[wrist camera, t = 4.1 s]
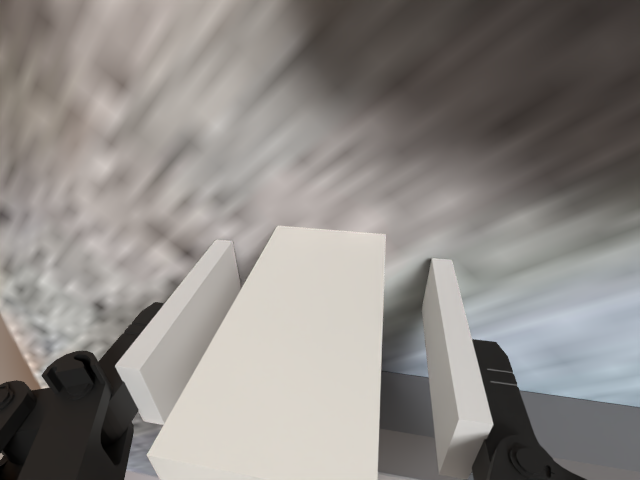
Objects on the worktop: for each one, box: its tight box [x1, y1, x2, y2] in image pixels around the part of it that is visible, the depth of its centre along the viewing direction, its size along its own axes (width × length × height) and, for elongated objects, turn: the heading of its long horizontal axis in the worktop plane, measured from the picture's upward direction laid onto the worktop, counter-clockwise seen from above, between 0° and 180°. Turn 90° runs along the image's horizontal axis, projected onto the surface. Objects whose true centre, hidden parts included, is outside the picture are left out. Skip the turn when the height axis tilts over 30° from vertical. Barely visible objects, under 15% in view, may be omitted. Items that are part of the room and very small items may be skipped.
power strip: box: [377, 371, 640, 480], centre depth 19 cm, size 20×11×4 cm, turn 91°
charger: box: [147, 226, 386, 480], centre depth 11 cm, size 4×4×10 cm
